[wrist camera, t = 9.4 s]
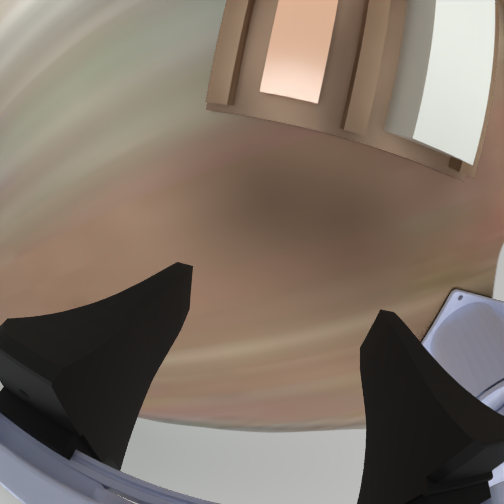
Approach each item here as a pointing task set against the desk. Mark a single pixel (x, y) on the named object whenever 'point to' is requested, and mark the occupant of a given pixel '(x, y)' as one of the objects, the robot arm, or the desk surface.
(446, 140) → the strip
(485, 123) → the walnut drying rack
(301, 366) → the desk surface
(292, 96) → the terracotta strip
